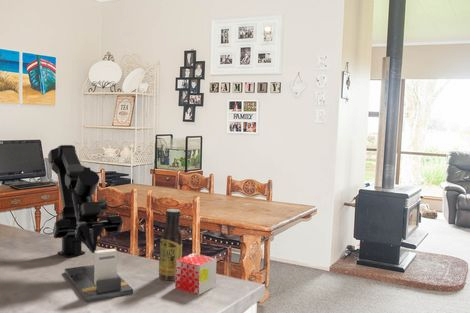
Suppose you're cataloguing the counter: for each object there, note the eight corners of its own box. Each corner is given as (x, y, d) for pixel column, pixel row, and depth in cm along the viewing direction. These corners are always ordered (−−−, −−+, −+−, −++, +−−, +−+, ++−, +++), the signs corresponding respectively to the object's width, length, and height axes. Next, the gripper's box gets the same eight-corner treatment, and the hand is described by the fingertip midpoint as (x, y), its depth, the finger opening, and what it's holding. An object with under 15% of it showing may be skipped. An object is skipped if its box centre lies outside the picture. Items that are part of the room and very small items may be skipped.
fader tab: (93, 286, 123) (94, 250, 123) (113, 282, 126) (114, 248, 125) (96, 289, 121) (97, 253, 120) (116, 286, 124) (117, 251, 123)
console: (64, 272, 137) (64, 258, 137) (105, 267, 144) (105, 253, 143) (86, 301, 117) (86, 285, 117) (133, 293, 123) (133, 277, 123)
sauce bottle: (154, 279, 135) (155, 210, 133) (167, 273, 140) (168, 206, 138) (173, 283, 132) (174, 213, 130) (185, 277, 137) (187, 209, 135)
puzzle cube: (198, 295, 124) (199, 265, 124) (175, 288, 128) (175, 259, 128) (215, 286, 131) (216, 258, 130) (192, 280, 135) (193, 253, 135)
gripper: (55, 191, 130) (63, 241, 122) (121, 188, 140) (133, 233, 132) (49, 213, 138) (57, 261, 130) (112, 209, 148) (123, 253, 139)
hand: (93, 252), depth 132 cm, fingers closed
